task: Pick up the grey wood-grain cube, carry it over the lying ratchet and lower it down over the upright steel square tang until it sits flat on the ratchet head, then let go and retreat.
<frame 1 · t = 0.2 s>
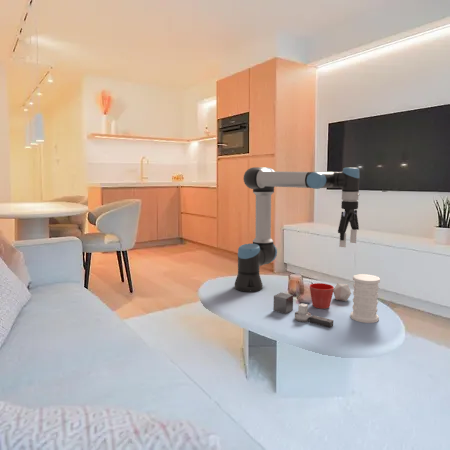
hand: (347, 244, 186), 28 cm above the table, tool pointing down, fingers open, 13 cm apart
ratchet: (302, 319, 166), on the table
flower pot: (320, 306, 182), on the table
decorative container: (364, 318, 167), on the table
die: (341, 300, 191), on the table
grey wood-grain cube: (283, 310, 176), on the table
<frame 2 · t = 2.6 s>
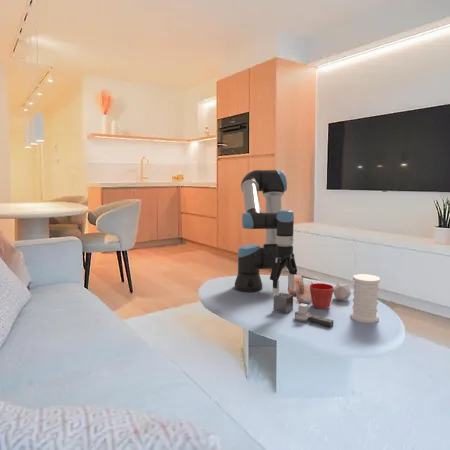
hand: (283, 291, 175), 9 cm above the table, tool pointing down, fingers open, 13 cm apart
nothing on the table moved.
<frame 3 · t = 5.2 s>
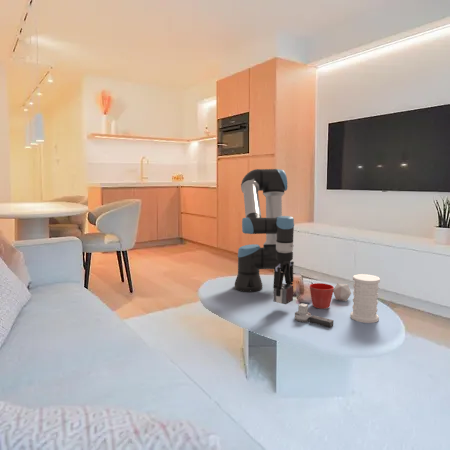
hand: (283, 300, 176), 5 cm above the table, tool pointing down, fingers closed on grey wood-grain cube, 6 cm apart
grey wood-grain cube: (283, 300, 176), point 4 cm above the table, touching gripper
everything else where it was.
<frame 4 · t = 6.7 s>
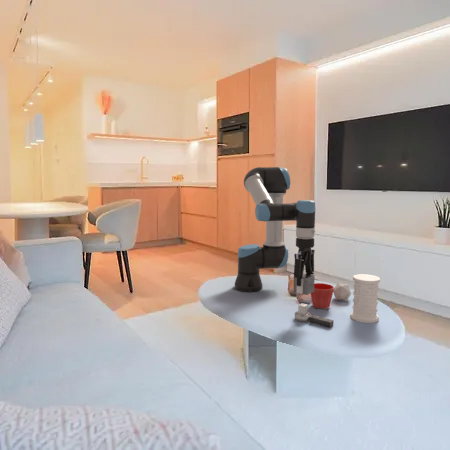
hand: (303, 291, 164), 12 cm above the table, tool pointing down, fingers closed on grey wood-grain cube, 6 cm apart
grey wood-grain cube: (303, 291, 164), point 12 cm above the table, touching gripper
everything else where it was.
when the fingers open (3 cm above the table, at t = 8.3 s): grey wood-grain cube stays where it is, resting on ratchet.
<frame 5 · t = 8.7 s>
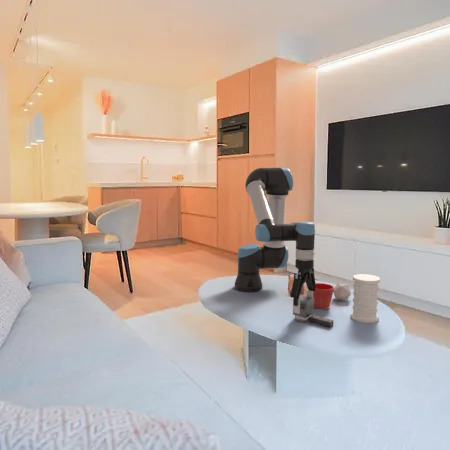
hand: (303, 308, 165), 5 cm above the table, tool pointing down, fingers open, 11 cm apart
ratchet: (302, 319, 166), on the table, touching grey wood-grain cube
grey wood-grain cube: (303, 313, 165), point 2 cm above the table, touching ratchet
everything else where it was.
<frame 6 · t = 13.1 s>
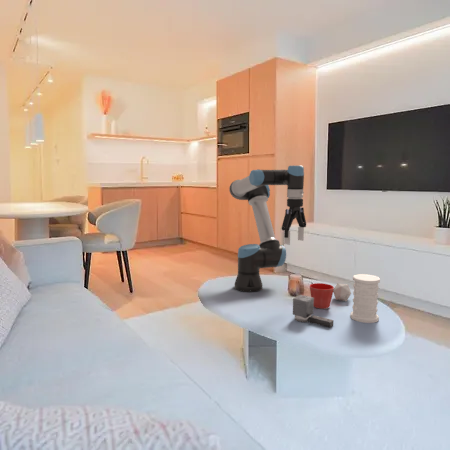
hand: (294, 242, 187), 29 cm above the table, tool pointing down, fingers open, 13 cm apart
nothing on the table moved.
at the end: grey wood-grain cube 0.0 cm off-centre on the ratchet, point 2.4 cm above the ratchet's base; grey wood-grain cube tilted 0°; the gripper is holding nothing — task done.
